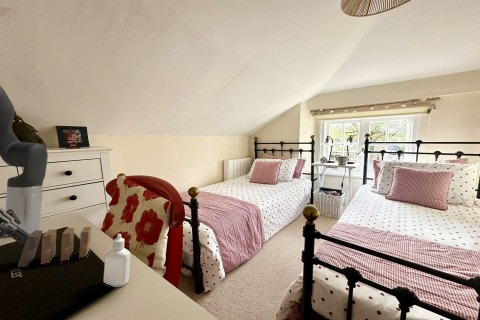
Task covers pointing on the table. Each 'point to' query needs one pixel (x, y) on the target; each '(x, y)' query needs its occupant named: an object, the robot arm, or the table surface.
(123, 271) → the eye dropper bottle
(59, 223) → the table surface
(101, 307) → the table surface
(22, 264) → the loose domino
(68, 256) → the domino
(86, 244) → the domino
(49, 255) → the domino
